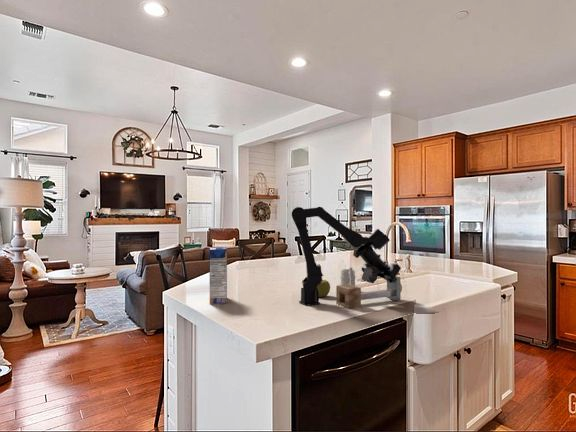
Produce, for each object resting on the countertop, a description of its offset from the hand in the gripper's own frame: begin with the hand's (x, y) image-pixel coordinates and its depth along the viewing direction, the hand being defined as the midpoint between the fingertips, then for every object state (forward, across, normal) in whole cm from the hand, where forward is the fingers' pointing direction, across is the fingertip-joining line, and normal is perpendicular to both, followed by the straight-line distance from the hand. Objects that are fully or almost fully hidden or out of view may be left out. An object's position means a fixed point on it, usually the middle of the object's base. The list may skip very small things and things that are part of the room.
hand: (391, 282), depth 150 cm
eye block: (-10, 0, -21) cm, 23 cm away
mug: (+1, -22, -10) cm, 24 cm away
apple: (-11, -19, -22) cm, 31 cm away
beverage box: (-41, -31, -52) cm, 73 cm away
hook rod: (-1, 0, -11) cm, 11 cm away
